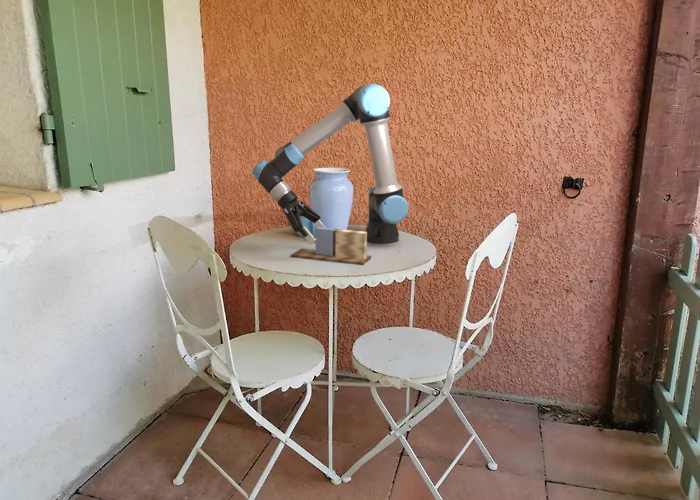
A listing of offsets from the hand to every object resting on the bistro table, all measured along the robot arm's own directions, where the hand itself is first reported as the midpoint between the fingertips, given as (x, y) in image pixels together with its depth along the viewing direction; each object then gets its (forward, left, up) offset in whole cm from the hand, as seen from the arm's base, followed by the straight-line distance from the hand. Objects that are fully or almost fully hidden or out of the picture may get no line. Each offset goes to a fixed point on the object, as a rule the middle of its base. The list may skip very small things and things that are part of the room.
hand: (320, 238), depth 206 cm
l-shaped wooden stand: (-3, +3, -7) cm, 8 cm away
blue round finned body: (-10, -36, -8) cm, 39 cm away
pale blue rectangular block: (-2, +1, -6) cm, 6 cm away
